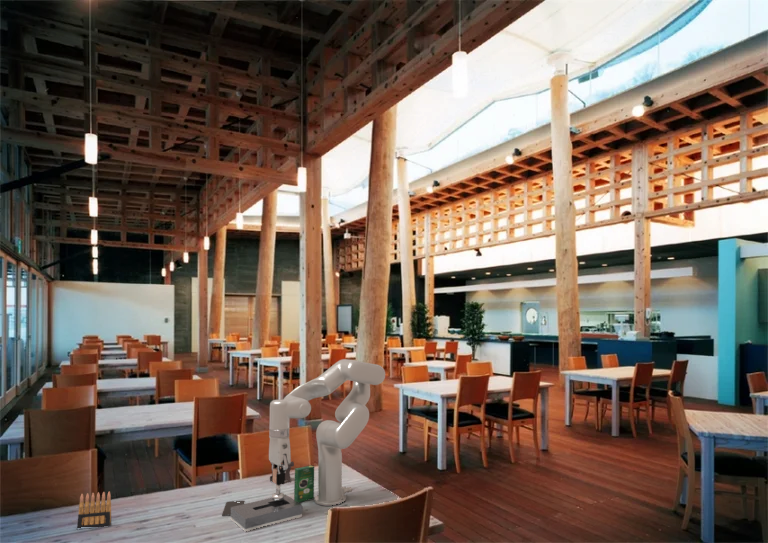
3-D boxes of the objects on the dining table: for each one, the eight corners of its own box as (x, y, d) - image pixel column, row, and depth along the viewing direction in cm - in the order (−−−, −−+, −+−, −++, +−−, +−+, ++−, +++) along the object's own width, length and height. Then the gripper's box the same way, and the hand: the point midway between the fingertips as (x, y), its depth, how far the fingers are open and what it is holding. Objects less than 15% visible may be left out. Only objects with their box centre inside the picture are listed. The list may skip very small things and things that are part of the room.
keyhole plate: (285, 506, 204) (285, 494, 204) (301, 516, 192) (301, 504, 193) (230, 519, 190) (230, 507, 191) (245, 532, 179) (245, 518, 180)
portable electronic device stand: (287, 477, 240) (287, 458, 241) (295, 481, 234) (295, 462, 235) (269, 481, 235) (269, 462, 235) (278, 485, 229) (278, 466, 229)
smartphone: (226, 503, 208) (221, 517, 193) (226, 501, 208) (221, 515, 193) (245, 502, 209) (241, 516, 195) (245, 500, 210) (241, 513, 195)
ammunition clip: (111, 524, 187) (112, 490, 188) (110, 526, 185) (111, 491, 186) (78, 527, 185) (79, 492, 186) (76, 529, 183) (78, 494, 184)
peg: (280, 495, 198) (281, 466, 199) (285, 498, 194) (286, 468, 195) (269, 498, 195) (270, 468, 196) (275, 501, 192) (275, 470, 193)
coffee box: (310, 497, 213) (311, 464, 215) (314, 498, 211) (314, 465, 212) (293, 501, 208) (293, 468, 210) (297, 503, 206) (297, 469, 207)
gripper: (298, 435, 193) (297, 486, 191) (278, 428, 206) (278, 475, 204) (279, 438, 188) (278, 490, 186) (261, 430, 201) (260, 479, 200)
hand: (278, 482), depth 195 cm, fingers closed on peg, 3 cm apart
